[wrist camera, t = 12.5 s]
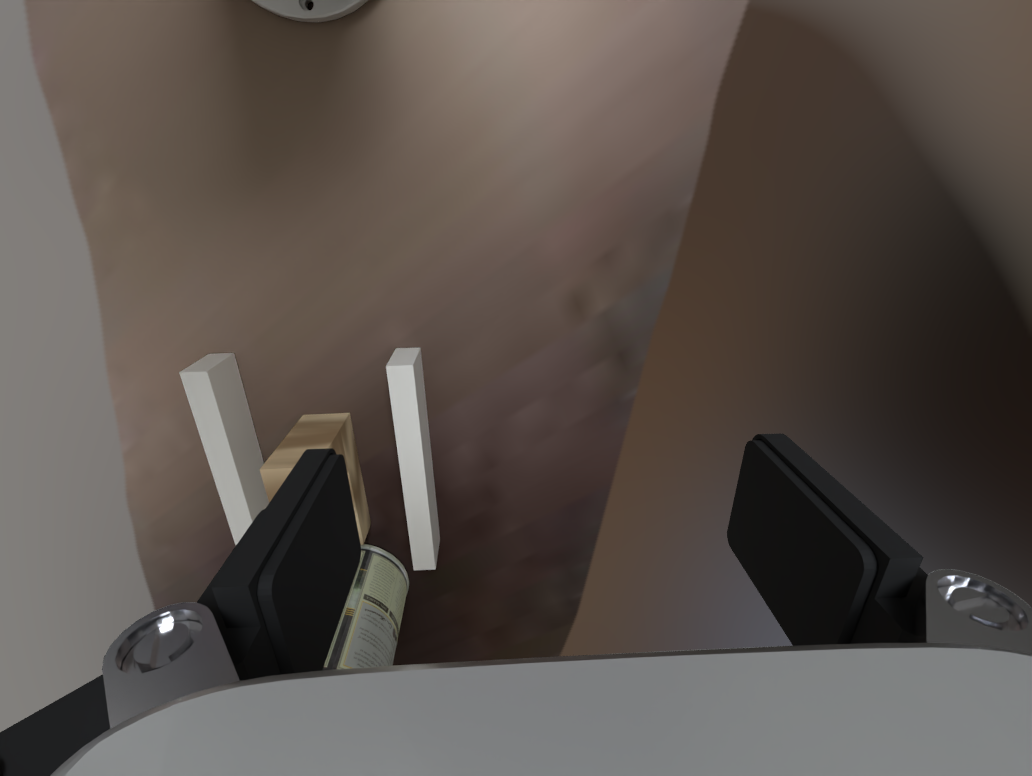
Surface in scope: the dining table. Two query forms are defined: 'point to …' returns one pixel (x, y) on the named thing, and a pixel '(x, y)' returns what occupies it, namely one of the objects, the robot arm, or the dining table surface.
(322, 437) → the wooden rectangular block
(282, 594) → the robot arm
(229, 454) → the white rectangular posts
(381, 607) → the coffee can
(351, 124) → the dining table surface
